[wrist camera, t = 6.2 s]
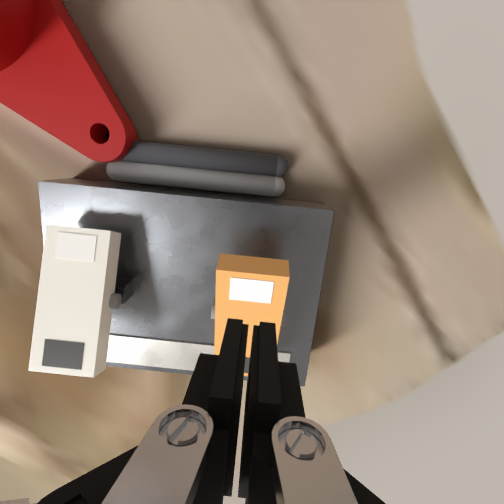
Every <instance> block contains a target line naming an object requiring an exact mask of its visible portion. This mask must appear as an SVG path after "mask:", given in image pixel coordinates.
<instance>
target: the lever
mask: <svg viewBox="0 0 504 504" xmlns="http://www.w3.org/2000/svg"><path fill="white" fill-rule="evenodd" d="M0 103H2V104H4V105H5V106H7V107H8V108H10V109H12V110H13V111H15V112H16V113H18V114H20V115H21V116H23V117H24V118H26V119H27V120H29V121H31V122H32V123H34V124H35V125H37V126H39V127H40V128H42V129H43V130H45V131H47V132H48V133H50V134H51V135H53V136H55V137H56V138H58V139H59V140H61V141H62V142H64V143H66V144H67V145H69V146H70V147H72V148H74V149H75V150H77V151H78V152H80V153H82V154H83V155H85V156H86V157H88V158H90V159H92V160H94V161H98V162H118V161H121V160H122V159H123V158H124V157H125V156H126V154H127V152H128V150H129V148H130V146H131V144H132V142H133V141H134V140H136V141H138V137H137V132H136V130H135V127H134V125H133V124H132V122H131V120H130V119H129V117H128V115H127V113H126V112H125V110H124V108H123V106H122V105H121V103H120V101H119V99H118V98H117V96H116V94H115V92H114V91H113V89H112V87H111V86H110V84H109V82H108V80H107V79H106V77H105V75H104V73H103V72H102V70H101V68H100V66H99V65H98V63H97V61H96V60H95V58H94V56H93V54H92V53H91V51H90V49H89V47H88V46H87V44H86V42H85V40H84V39H83V37H82V35H81V33H80V32H79V30H78V28H77V27H76V25H75V23H74V21H73V20H72V18H71V16H70V14H69V13H68V11H67V9H66V7H65V6H64V4H63V2H62V1H61V0H0ZM107 130H109V133H110V136H109V139H108V141H106V139H105V133H106V131H107Z"/></svg>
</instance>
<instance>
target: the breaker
mask: <svg viewBox="0 0 504 504" xmlns="http://www.w3.org/2000/svg"><path fill="white" fill-rule="evenodd" d="M120 241H121V233H118V232H114V231H108V230H98V229H88V228H78V227H68V226H58V225H48V224H47V225H46V233H45V241H44V249H43V257H42V265H41V273H40V281H39V289H38V297H37V305H36V313H35V321H34V329H33V337H32V346H31V354H30V362H29V370H28V371H35V372H45V373H55V374H64V375H74V376H83V377H93V378H94V377H95V376H96V375H98V374H99V373H101V372H102V371H103V370H105V369H106V362H107V353H108V344H109V336H110V327H111V319H112V310H113V309H118V308H119V307H120V305H121V300H122V297H121V294H116V293H115V284H116V275H117V267H118V258H119V250H120Z"/></svg>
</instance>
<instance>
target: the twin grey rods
mask: <svg viewBox="0 0 504 504" xmlns="http://www.w3.org/2000/svg"><path fill="white" fill-rule="evenodd" d="M287 167H288V163H287V160H286V159H285V158H284V157H283V156H281V155H277V154H267V153H257V152H247V151H237V150H227V149H217V148H207V147H197V146H186V145H176V144H166V143H156V142H146V141H136V140H134V141H133V142H132V144H131V146H130V148H129V150H128V152H127V154H126V156H125V157H124V158H123V159H122V160H121V161H118V162H109V163H108V164H107V167H106V172H107V175H108V176H109V177H110V178H111V179H112V180H114V181H120V182H130V183H140V184H150V185H160V186H170V187H180V188H190V189H200V190H210V191H220V192H230V193H240V194H250V195H260V196H270V197H277V196H280V195H281V194H282V193H283V192H284V190H285V182H284V180H283V179H282V178H281V177H280V176H282V175H283V174H284V173H285V172H286V171H287Z"/></svg>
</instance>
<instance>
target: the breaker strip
mask: <svg viewBox="0 0 504 504" xmlns="http://www.w3.org/2000/svg"><path fill="white" fill-rule="evenodd" d="M38 186H39V197H40V208H41V219H42V231H43V242H44V241H45V233H46V225H47V224H48V225H58V226H68V227H78V228H88V229H98V230H108V231H114V232H118V233H121V241H120V250H119V258H118V267H117V275H116V284H115V293H116V294H121V297H122V300H121V305H120V307H119V308H118V309H113V310H112V319H111V327H110V336H109V344H108V353H107V362H106V366H113V367H122V368H132V369H142V370H151V371H161V372H171V373H180V374H190V375H192V374H193V371H194V369H195V366H196V363H197V360H198V357H199V355H200V353H204V354H213V355H214V339H215V319H211V309H212V304H213V303H214V304H215V293H216V268H217V264H218V260H219V256H220V253H222V254H232V255H242V256H252V257H261V258H271V259H281V260H289V274H290V278H289V284H288V289H287V294H286V300H285V305H284V310H283V311H286V322H285V326H280V332H279V337H278V343H277V351H278V361H280V362H289V363H296V365H297V371H298V377H299V383H300V386H305V381H306V375H307V369H308V363H309V357H310V351H311V345H312V339H313V333H314V327H315V321H316V315H317V310H318V304H319V298H320V292H321V286H322V280H323V274H324V268H325V262H326V256H327V250H328V244H329V238H330V232H331V226H332V220H333V214H334V210H332V209H331V208H329V207H328V206H326V205H325V204H324V203H316V202H306V201H296V200H286V199H276V198H266V197H256V196H246V195H236V194H226V193H216V192H206V191H196V190H186V189H176V188H166V187H156V186H146V185H136V184H126V183H116V182H106V181H96V180H86V179H76V178H69V179H57V180H46V181H38ZM243 380H248V376H244V378H243Z"/></svg>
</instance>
